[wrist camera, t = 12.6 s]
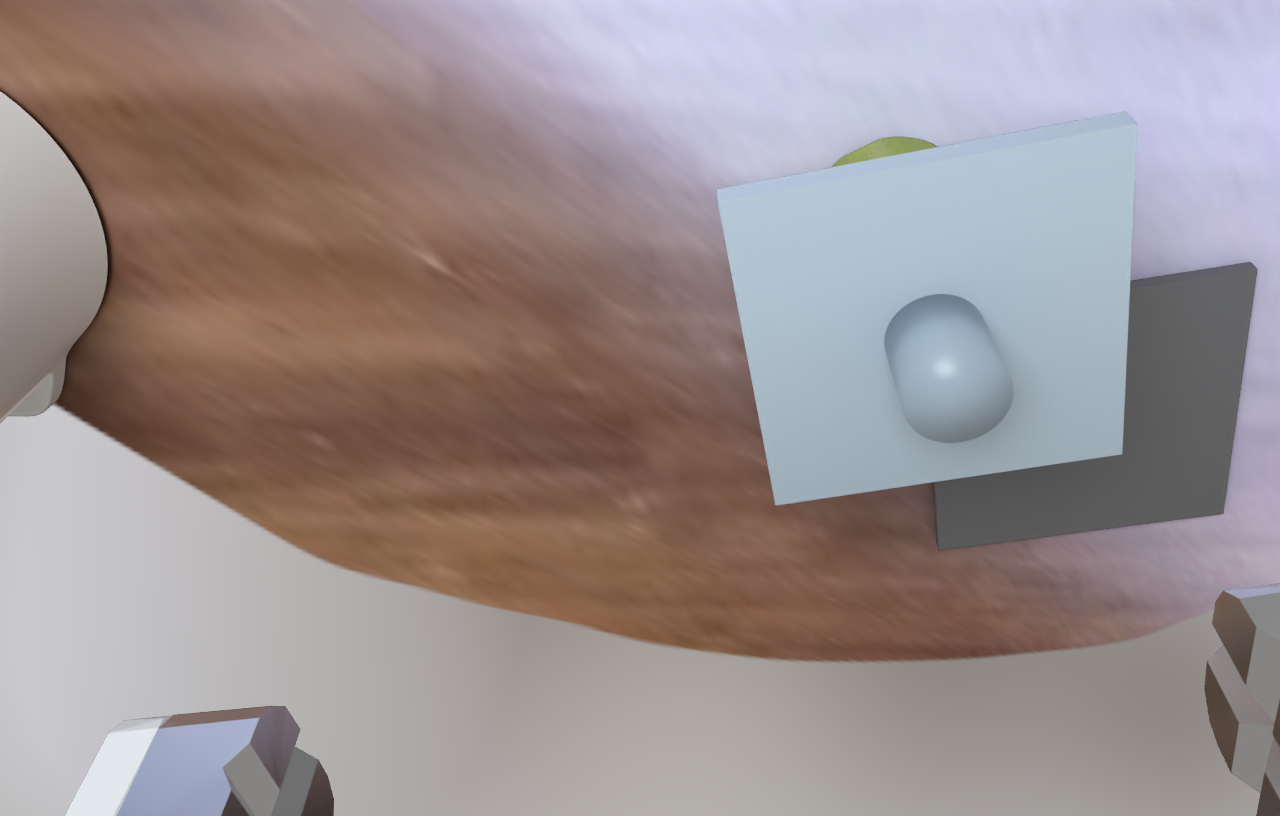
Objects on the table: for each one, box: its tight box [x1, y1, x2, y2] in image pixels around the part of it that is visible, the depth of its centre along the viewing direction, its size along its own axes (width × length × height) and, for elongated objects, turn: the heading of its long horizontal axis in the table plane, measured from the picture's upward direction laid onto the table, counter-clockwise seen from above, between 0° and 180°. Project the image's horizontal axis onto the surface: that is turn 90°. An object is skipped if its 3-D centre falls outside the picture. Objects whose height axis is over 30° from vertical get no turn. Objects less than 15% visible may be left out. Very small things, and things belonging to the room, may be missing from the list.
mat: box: [933, 262, 1257, 550], centre depth 48 cm, size 13×13×1 cm
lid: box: [717, 111, 1138, 505], centre depth 34 cm, size 12×12×4 cm
